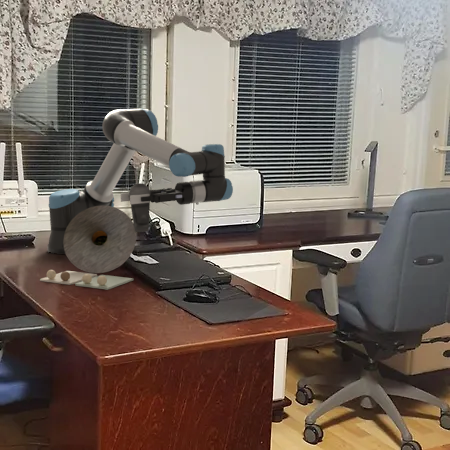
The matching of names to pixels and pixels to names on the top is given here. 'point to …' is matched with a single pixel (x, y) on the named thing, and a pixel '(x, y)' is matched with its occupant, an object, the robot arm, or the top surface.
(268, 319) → the top surface
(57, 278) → the cream card
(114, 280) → the sage card
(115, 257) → the disc
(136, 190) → the beverage cup
